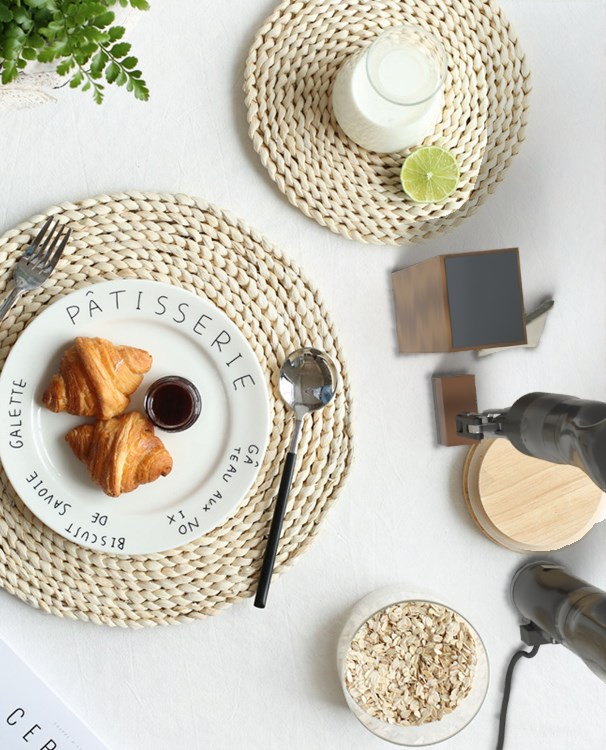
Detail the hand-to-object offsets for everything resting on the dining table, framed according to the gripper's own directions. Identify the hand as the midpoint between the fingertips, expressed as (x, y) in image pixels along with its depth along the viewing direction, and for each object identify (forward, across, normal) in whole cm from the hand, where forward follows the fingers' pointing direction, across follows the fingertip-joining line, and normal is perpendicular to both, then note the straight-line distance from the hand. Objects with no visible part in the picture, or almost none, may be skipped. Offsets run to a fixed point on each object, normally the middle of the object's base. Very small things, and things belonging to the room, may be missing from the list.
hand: (495, 416), depth 107 cm
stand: (+17, -2, +15) cm, 23 cm away
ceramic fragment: (+17, +11, +11) cm, 23 cm away
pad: (-5, -2, +15) cm, 16 cm away
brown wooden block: (+17, 0, 0) cm, 17 cm away
